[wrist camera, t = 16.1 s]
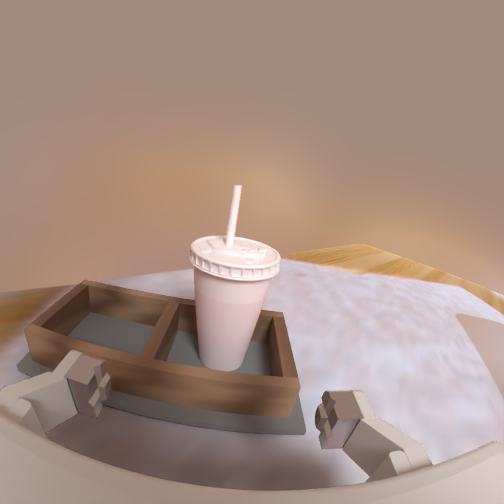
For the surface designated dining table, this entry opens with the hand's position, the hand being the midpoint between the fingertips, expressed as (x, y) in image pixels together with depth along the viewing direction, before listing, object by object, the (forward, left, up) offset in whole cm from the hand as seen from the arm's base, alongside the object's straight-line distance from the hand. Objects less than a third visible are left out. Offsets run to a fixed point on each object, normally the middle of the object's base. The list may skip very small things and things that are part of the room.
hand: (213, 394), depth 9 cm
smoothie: (0, +12, -8) cm, 14 cm away
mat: (-5, +11, -8) cm, 14 cm away
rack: (-5, +11, -8) cm, 14 cm away
